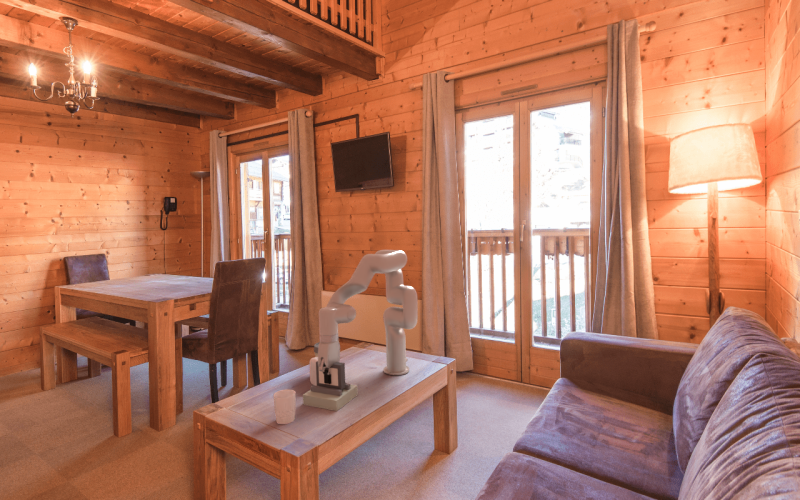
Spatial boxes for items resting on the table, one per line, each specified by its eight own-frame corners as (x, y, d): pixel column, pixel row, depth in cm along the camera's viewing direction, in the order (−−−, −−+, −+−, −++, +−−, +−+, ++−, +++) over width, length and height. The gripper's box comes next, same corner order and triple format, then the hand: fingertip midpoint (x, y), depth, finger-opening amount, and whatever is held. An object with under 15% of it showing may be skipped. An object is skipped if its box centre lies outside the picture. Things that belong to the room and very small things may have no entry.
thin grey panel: (320, 383, 168) (320, 359, 167) (345, 387, 163) (344, 363, 163) (316, 386, 165) (315, 362, 164) (341, 390, 160) (340, 365, 160)
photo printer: (308, 383, 183) (307, 356, 182) (317, 380, 185) (316, 354, 185) (319, 389, 175) (318, 362, 174) (328, 387, 177) (327, 359, 177)
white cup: (277, 415, 151) (276, 390, 150) (298, 414, 152) (297, 388, 151) (272, 426, 143) (271, 398, 143) (294, 424, 144) (293, 397, 143)
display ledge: (325, 389, 175) (325, 376, 174) (357, 394, 168) (357, 380, 168) (303, 404, 160) (302, 389, 160) (337, 411, 154) (336, 395, 153)
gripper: (332, 331, 172) (334, 373, 173) (309, 342, 157) (311, 388, 158) (347, 333, 169) (348, 375, 170) (325, 344, 154) (326, 390, 155)
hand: (330, 381), depth 164 cm, fingers closed on thin grey panel, 3 cm apart
